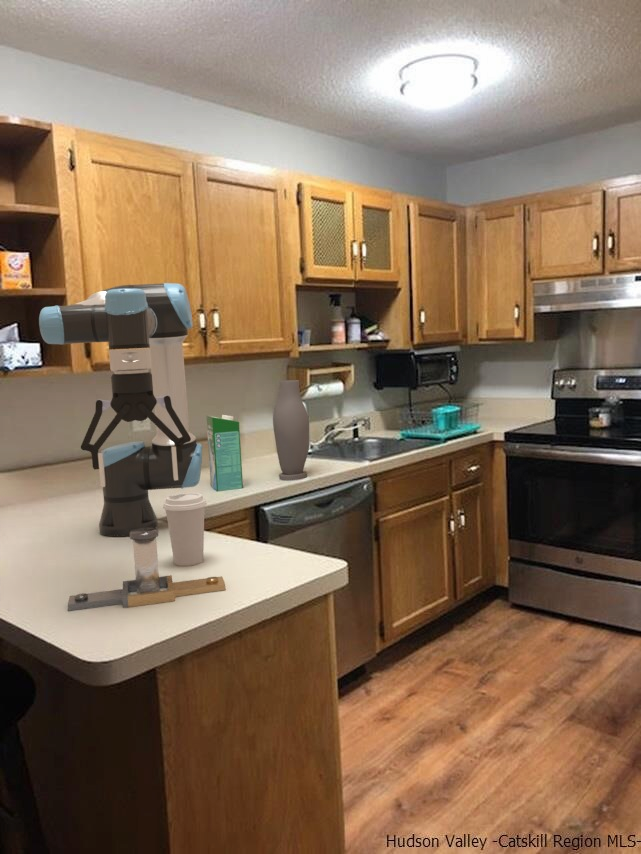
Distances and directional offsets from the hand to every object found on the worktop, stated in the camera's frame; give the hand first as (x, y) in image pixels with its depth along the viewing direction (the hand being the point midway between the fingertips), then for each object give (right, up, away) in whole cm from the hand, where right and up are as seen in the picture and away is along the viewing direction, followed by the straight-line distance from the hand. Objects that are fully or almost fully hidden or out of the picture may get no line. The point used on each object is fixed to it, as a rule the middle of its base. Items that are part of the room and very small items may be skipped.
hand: (139, 482), depth 135 cm
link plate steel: (-4, -23, +1) cm, 23 cm away
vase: (+25, -8, +118) cm, 121 cm away
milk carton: (+3, -10, +105) cm, 105 cm away
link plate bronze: (+6, -22, +4) cm, 23 cm away
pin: (+1, -22, +3) cm, 23 cm away
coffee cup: (+5, -20, +24) cm, 31 cm away
